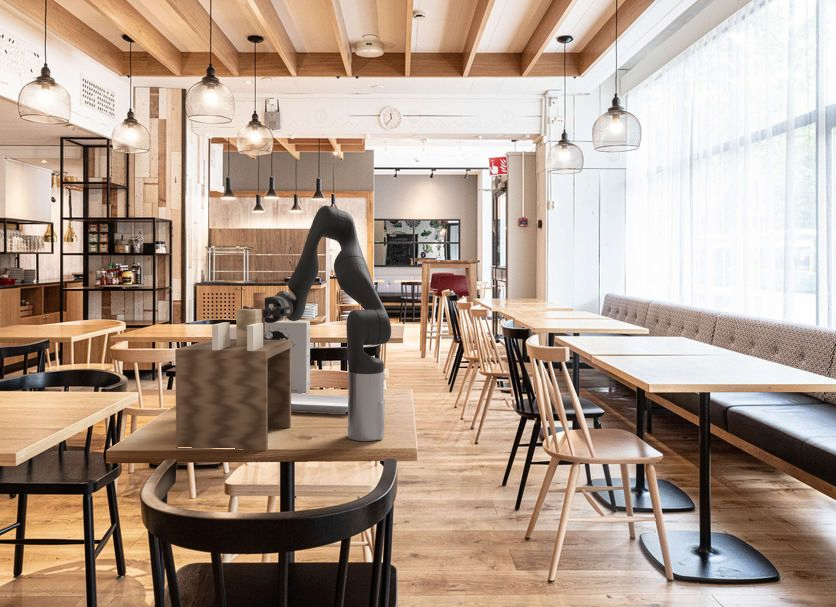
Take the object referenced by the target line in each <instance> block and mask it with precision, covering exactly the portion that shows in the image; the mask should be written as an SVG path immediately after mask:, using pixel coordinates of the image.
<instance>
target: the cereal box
mask: <svg viewBox="0 0 836 607" xmlns="http://www.w3.org/2000/svg"><path fill="white" fill-rule="evenodd" d="M265 340H291V393H295V394H302V393H306V392H308V393H309V392H310V389H311V361H310V360H311V321H310V320H297V321H291V320H281V321H278V322H274V323H266V322H265Z"/></svg>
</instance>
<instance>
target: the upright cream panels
mask: <svg viewBox="0 0 836 607" xmlns="http://www.w3.org/2000/svg"><path fill="white" fill-rule="evenodd" d="M230 324H231V322H225V321H224V322H220V323H215V324H211V339H212V350H221V349H223V348H226V347H229V346H230V327H231V325H230ZM262 347H263V323H255V324H252V325H248V326H247V351H254V350H257V349H259V348H262Z"/></svg>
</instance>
